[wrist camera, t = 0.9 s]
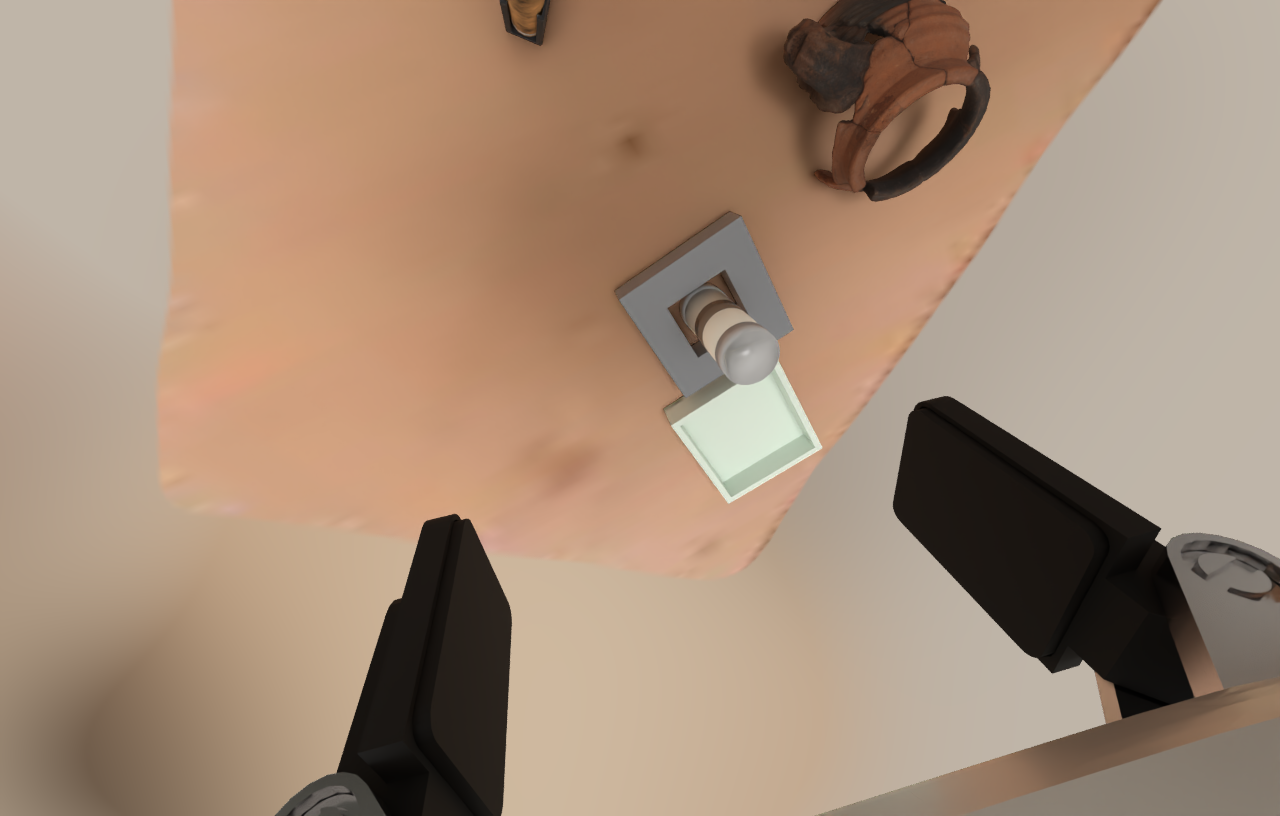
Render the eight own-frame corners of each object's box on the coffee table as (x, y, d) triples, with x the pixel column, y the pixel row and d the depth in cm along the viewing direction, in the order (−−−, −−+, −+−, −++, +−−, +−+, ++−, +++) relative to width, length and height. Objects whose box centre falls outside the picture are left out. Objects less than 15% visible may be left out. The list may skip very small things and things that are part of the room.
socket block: (729, 211, 30) (741, 216, 29) (781, 319, 35) (793, 329, 33) (614, 290, 32) (618, 299, 30) (678, 385, 36) (685, 398, 35)
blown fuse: (711, 273, 32) (765, 317, 25) (732, 311, 34) (788, 363, 26) (671, 300, 33) (711, 352, 25) (693, 336, 34) (737, 395, 27)
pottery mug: (951, -4, 27) (1050, 69, 23) (840, 152, 34) (902, 227, 31) (798, -92, 22) (895, -15, 18) (704, 116, 29) (759, 202, 25)
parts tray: (763, 345, 36) (777, 358, 34) (807, 431, 41) (822, 448, 39) (663, 408, 37) (671, 425, 35) (718, 485, 42) (728, 503, 40)
